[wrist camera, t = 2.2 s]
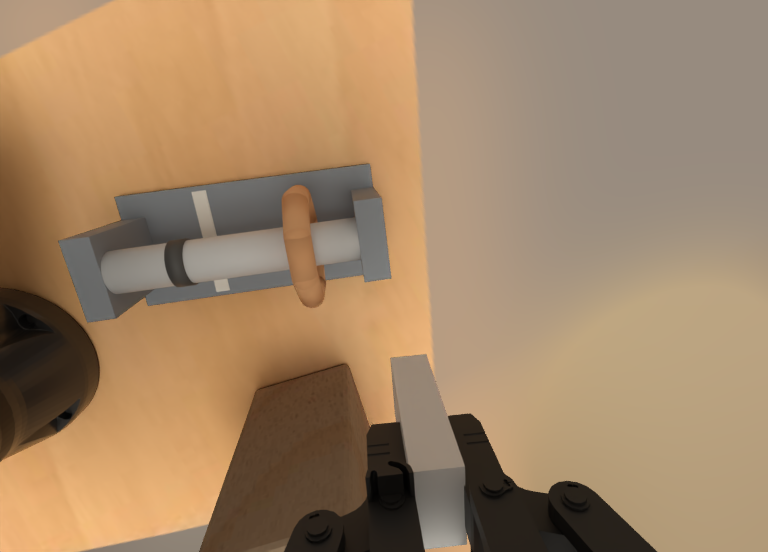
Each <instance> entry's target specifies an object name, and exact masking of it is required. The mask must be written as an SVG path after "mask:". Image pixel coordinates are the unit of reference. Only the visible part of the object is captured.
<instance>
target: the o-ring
mask: <svg viewBox="0 0 768 552" xmlns="http://www.w3.org/2000/svg"><path fill="white" fill-rule="evenodd" d="M282 220H283V238H284V243H285V248H286V253H287V258H288V264H289V269H290V274H291V279H292V283H293V285H294V287H295V289H296V291H297V293H298V296H299V298H300V300H301V302H302V303H303V304H304V305H305V306H306V307H309V308H315V307H318V306H319V305H321V304H322V302H323V300H324V296H325V287H326V280H325V270H324V265H319V266H316V260H315V255H314V249H313V243H312V237H311V229H310V223H317V216H316V213H315V209H314V205H313V201H312V198H311V194H310V192H309V190H308V189H307V188H306V187H305V186H302V185H295V186H292V187H291V188H290V189H288V190H287V191H286V192H285V193H284V194H283V196H282Z"/></svg>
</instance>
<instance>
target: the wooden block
mask: <svg viewBox="0 0 768 552" xmlns="http://www.w3.org/2000/svg"><path fill="white" fill-rule="evenodd" d="M369 429H370V427H369V424H368V421H367V418H366V415H365V412H364V409H363V407H362V404H361V401H360V398H359V395H358V392H357V389H356V386H355V383H354V380H353V377H352V374H351V371H350V368H349V367H348V366H347V365H341V366H337V367H334V368H331V369H327V370H324V371H320V372H317V373H314V374H310V375H307V376H303V377H300V378H297V379H293V380H290V381H287V382H283V383H280V384H276V385H273V386H270V387H266V388H263V389H259V390H258V391H257V392H256V393H255V395H254V398H253V401H252V404H251V407H250V410H249V412H248V415H247V418H246V421H245V424H244V426H243V429H242V432H241V435H240V438H239V441H238V443H237V446H236V449H235V452H234V455H233V458H232V460H231V463H230V466H229V469H228V472H227V474H226V477H225V480H224V483H223V486H222V489H221V491H220V494H219V497H218V500H217V503H216V506H215V508H214V511H213V514H212V517H211V520H210V522H209V525H208V528H207V531H206V534H205V537H204V539H203V542H202V545H201V548H200V551H199V552H284V550H285V548H286V546H287V543H288V541H289V539H290V536H291V534H292V532H293V529H294V527H295V526H296V524H297V523H298V521H299V520H300V519H301V518H303V517H304V516H305V515H306V514H308V513H311V512H313V511H316V510H329V511H333V512H335V513H336V514H337V515H339V516H340V517H341V516H344V515H346V514H349V513H351V512H352V511H354V510H356V509H357V508H358V507H360V506H361V505H362V504H363V502H364V501H365V500H366V497H367V490H366V481H365V476H366V472H367V470H368V465H367V438H366V435H367V433H368V431H369Z"/></svg>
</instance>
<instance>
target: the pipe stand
mask: <svg viewBox="0 0 768 552" xmlns="http://www.w3.org/2000/svg"><path fill="white" fill-rule="evenodd" d="M295 185H302V186H305V187H306V188H307V189H308V190H309V192H310V194H311V198H312V201H313V205H314V209H315V213H316V216H317V223H310V229H311V237H312V243H313V249H314V255H315V260H316V266H319V265H324V270H325V280H331V279H338V278H345V277H352V276H359V275H364V281H365V282H370V281H377V280H384V279H391V271H390V263H389V255H388V246H387V238H386V230H385V222H384V214H383V205H382V197H381V196H380V195H379V194H378V193H377V191H376V190H375V189H374V188H373V184H372V176H371V168H370V164H363V165H355V166H347V167H340V168H332V169H324V170H316V171H309V172H301V173H293V174H286V175H278V176H270V177H262V178H255V179H247V180H239V181H232V182H224V183H216V184H208V185H201V186H193V187H185V188H178V189H170V190H162V191H155V192H147V193H139V194H131V195H124V196H118V197H114V198H115V201H116V204H117V207H118V210H119V214H120V217H121V221H118V222H115V223H112V224H109V225H106V226H103V227H100V228H96V229H93V230H90V231H87V232H84V233H81V234H78V235H75V236H72V237H69V238H66V239H63V240H59V241H58V242H59V245H60V248H61V250H62V253H63V256H64V259H65V262H66V264H67V267H68V270H69V273H70V276H71V278H72V281H73V284H74V287H75V289H76V292H77V295H78V298H79V301H80V303H81V306H82V309H83V312H84V314H85V317H86V320H87V323H88V322H95V321H102V320H109V319H115V318H117V317H119V316H120V315H121V314H123V313H124V312H125V311H127V310H128V309H129V308H131V307H132V306H133V305H135V304H136V303H137V302H139V301H140V300H141V299H143V298H144V297H145V298H146V301H147V304H148V306H151V305H158V304H165V303H172V302H178V301H185V300H192V299H199V298H206V297H213V296H220V295H227V294H234V293H241V292H248V291H255V290H262V289H269V288H275V287H282V286H289V285H293V283H292V279H291V274H290V269H289V264H288V258H287V253H286V248H285V243H284V238H283V220H282V196H283V194H284V193H285V192H286V191H287V190H288V189H290V188H291V187H292V186H295Z"/></svg>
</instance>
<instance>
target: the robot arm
mask: <svg viewBox="0 0 768 552" xmlns="http://www.w3.org/2000/svg"><path fill="white" fill-rule="evenodd" d="M391 369H392V382H393V395H394V408H395V417H396V422H394V423H384V424H375V425H371V427H370V429H369V431H368V433H367V435H366V438H367V465H368V470H367V472H366V476H365V481H366V490H367V497H366V500H365V501H364V502H363V504H362V505H361V506H360V507H358V508H357V509H356V510H354V511H352V512H351V513H349V514H346V515H344V516H341V517H340V516H339V515H337V514H336V513H335V512H333V511H329V510H316V511H313V512H311V513H308V514H306V515H305V516H304V517H303V518H301V519H300V520H299V521H298V523H297V524H296V526H295V527H294V529H293V532H292V534H291V536H290V539H289V541H288V543H287V546H286V548H285V550H284V552H425V549H431V548H440V547H448V546H456V545H466V544H467V535H468V539H469V542H470V545H471V552H657V551H656V550H655V549H654V548H653V547H652V546H650V544H649V543H647V542H646V541H645V540H644V539H643V538H642V537H641V536H640V535H639V534H638V533H637V532H636V531H635V530H634V529H633V528H632V527H631V526H630V525H629V524H628V523H627V522H626V521H625V520H624V519H623V518H621V517H620V516H619V515H618V514H617V513H616V512H615V511H614V510H613V509H612V508H611V507H610V506H609V505H608V504H607V503H606V502H605V501H604V500H603V499H602V498H601V497H599V495H598V494H596V493H595V492H594V491H593V490H591V489H590V488H589V487H587V486H585V485H582V484H580V483H577V482H571V481H564V482H558V483H556V484H554V485H553V486H552V487H551V488H550V490H549V493H548V494H547V493H540V492H533V491H529V490H525V489H523V488H520V487H518V486H517V485H516V484H515V483H514V481H513V480H512V479H511V478H510V477H508V476H507V475H505V474H504V473H503V470H502V468H501V466H500V464H499V462H498V460H497V457H496V455H495V453H494V451H493V449H492V447H491V444H490V443H489V440H488V438H487V436H486V434H485V431H484V429H483V427H482V425H481V423H480V421H479V420H477V419H476V418H475V417H474V416H473V415H471V414H461V415H452V416H447V413H446V410H445V407H444V404H443V401H442V399H441V396H440V393H439V390H438V387H437V384H436V381H435V378H434V375H433V373H432V370H431V367H430V364H429V361H428V358H427V355H426V354H424V355H414V356H404V357H394V358H391ZM98 379H99V366H98V360H97V356H96V353H95V350H94V348H93V345H92V343H91V341H90V340H89V338H88V336H87V335H86V333H85V332H84V331H83V329H82V328H81V327H80V326H79V325H78V323H77V322H76V321H75V320H74V319H73V318H71V317H70V316H69V315H68V314H67V313H66V312H64V311H63V310H61V309H60V308H59V307H57V306H55V305H54V304H52V303H50V302H48V301H46V300H44V299H42V298H40V297H38V296H35V295H32V294H29V293H26V292H22V291H18V290H12V289H4V288H0V462H1V461H2V460H3V459H5V458H7V457H10V456H12V455H14V454H16V453H18V452H20V451H22V450H24V449H26V448H28V447H30V446H33V445H35V444H37V443H39V442H41V441H43V440H45V439H47V438H49V437H51V436H53V435H55V434H57V433H58V432H60V431H61V430H63V429H64V428H65V427H67V426H68V425H69V424H70V423H71V422H72V421H73V420H74V419H75V418H76V417H77V416H78V415H79V414H80V413H81V412H82V411H83V410H84V409H85V408H86V407H87V406H88V404H89V403H90V401H91V400H92V398H93V396H94V394H95V392H96V389H97V385H98ZM466 533H467V534H466Z"/></svg>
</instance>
